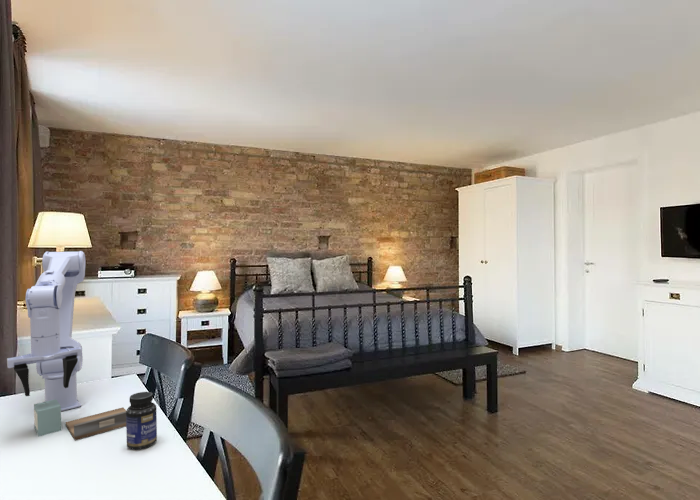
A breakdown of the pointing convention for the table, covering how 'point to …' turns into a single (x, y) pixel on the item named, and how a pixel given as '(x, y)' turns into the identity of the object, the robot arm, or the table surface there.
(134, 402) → the pill bottle
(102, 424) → the shelf board
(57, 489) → the table surface
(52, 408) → the carton
